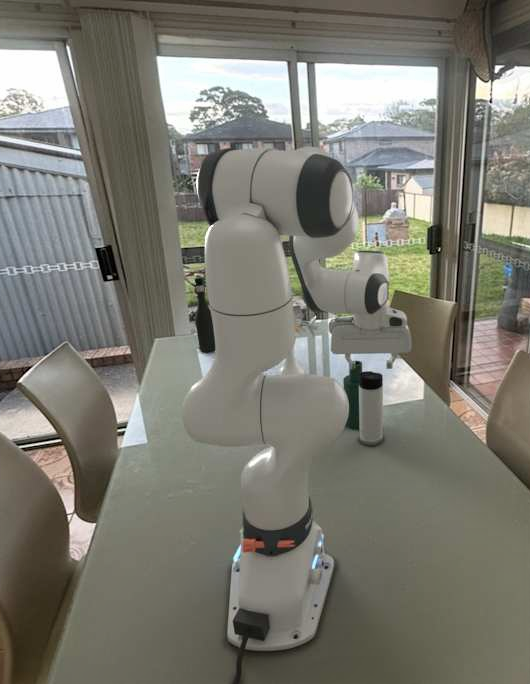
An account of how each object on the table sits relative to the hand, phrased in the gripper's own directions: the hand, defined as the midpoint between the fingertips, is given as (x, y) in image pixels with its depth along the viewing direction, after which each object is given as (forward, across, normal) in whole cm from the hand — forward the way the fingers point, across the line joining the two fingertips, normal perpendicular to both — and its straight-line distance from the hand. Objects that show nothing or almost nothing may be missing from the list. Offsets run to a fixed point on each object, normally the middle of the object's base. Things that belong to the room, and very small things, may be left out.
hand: (371, 368), depth 112 cm
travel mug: (+22, 0, +1) cm, 22 cm away
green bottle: (+21, -4, +10) cm, 24 cm away
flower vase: (+21, -26, +38) cm, 50 cm away
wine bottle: (+5, -90, +77) cm, 119 cm away
